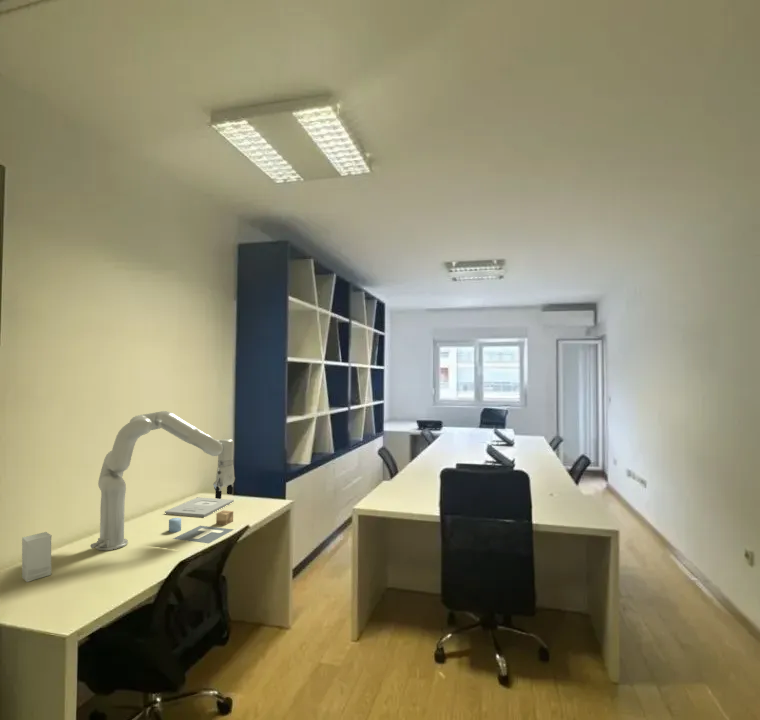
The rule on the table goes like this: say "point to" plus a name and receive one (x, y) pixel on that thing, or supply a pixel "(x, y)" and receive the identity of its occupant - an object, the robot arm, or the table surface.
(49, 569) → the skincare box
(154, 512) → the table surface
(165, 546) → the table surface
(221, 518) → the oak block
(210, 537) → the letter mat
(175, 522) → the blue canister
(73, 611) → the table surface
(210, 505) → the award plaque
